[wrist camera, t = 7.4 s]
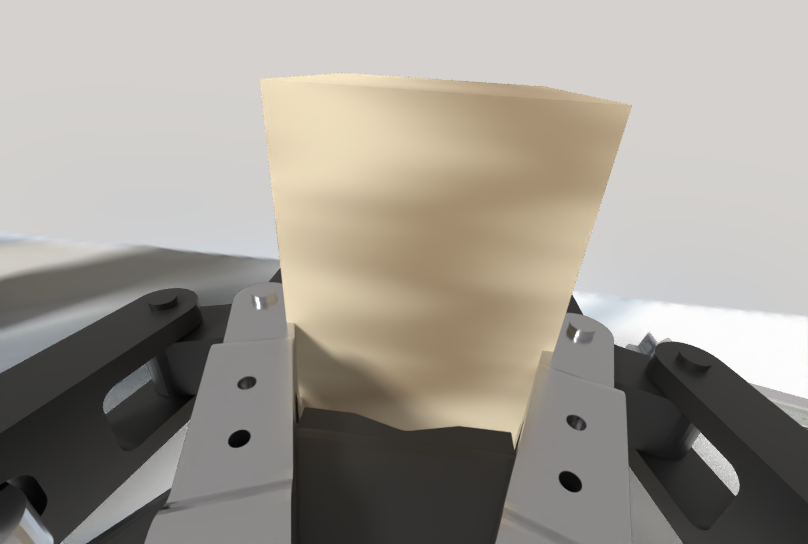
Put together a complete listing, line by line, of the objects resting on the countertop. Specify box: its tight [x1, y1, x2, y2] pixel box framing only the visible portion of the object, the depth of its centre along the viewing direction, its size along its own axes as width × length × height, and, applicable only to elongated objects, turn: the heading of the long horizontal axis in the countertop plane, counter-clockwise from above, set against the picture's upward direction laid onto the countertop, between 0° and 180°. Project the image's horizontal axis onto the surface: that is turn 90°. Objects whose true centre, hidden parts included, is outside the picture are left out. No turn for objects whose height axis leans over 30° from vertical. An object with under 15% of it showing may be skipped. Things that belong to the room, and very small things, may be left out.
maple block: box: [260, 73, 632, 445], centre depth 10 cm, size 5×5×12 cm
